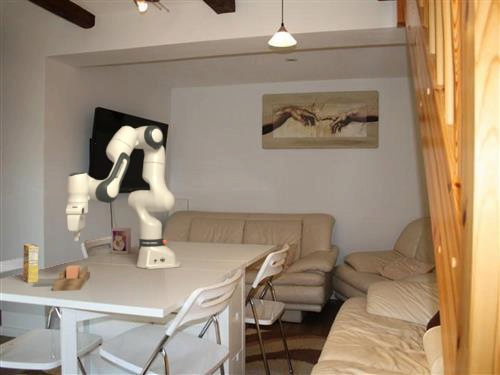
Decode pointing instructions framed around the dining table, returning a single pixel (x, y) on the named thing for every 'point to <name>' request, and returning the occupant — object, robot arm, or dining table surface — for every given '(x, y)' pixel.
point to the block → (72, 272)
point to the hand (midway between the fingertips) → (76, 240)
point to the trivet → (45, 282)
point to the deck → (71, 280)
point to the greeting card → (121, 240)
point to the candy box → (30, 263)
